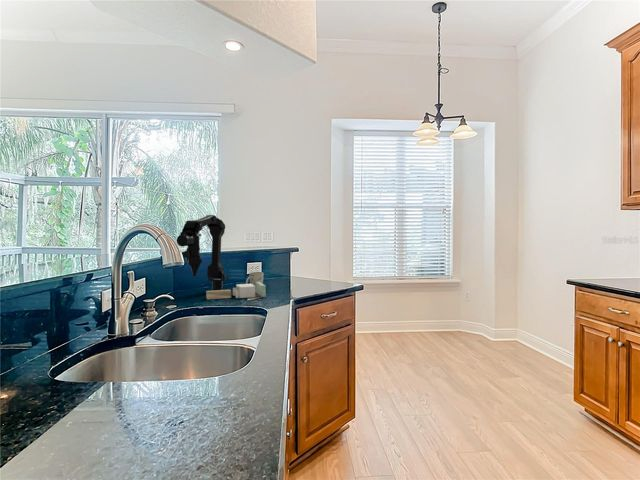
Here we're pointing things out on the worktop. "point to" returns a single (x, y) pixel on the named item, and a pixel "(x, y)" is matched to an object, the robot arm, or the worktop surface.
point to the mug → (255, 278)
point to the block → (244, 290)
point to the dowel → (218, 294)
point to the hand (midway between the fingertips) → (194, 276)
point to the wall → (261, 289)
